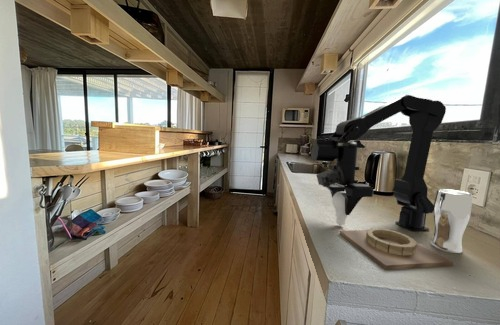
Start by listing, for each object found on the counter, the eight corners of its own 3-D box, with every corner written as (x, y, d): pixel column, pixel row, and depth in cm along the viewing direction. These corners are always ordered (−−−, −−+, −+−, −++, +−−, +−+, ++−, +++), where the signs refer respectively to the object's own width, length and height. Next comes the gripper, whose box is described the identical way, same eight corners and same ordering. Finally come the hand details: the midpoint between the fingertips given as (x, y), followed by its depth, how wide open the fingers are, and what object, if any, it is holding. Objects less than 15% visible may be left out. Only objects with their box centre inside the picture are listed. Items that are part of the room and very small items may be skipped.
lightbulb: (353, 230, 64) (356, 194, 63) (331, 228, 65) (334, 192, 64) (348, 222, 70) (351, 190, 69) (328, 220, 71) (331, 188, 70)
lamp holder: (391, 232, 64) (392, 222, 64) (452, 265, 48) (454, 253, 47) (339, 234, 62) (340, 224, 61) (385, 269, 45) (386, 256, 45)
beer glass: (468, 257, 51) (478, 197, 50) (431, 249, 55) (439, 192, 53) (459, 246, 57) (468, 191, 56) (426, 238, 61) (433, 187, 59)
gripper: (308, 158, 73) (305, 202, 75) (338, 165, 55) (333, 223, 57) (338, 159, 75) (334, 202, 77) (377, 166, 57) (371, 222, 58)
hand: (341, 211), depth 67 cm, fingers closed on lightbulb, 6 cm apart
